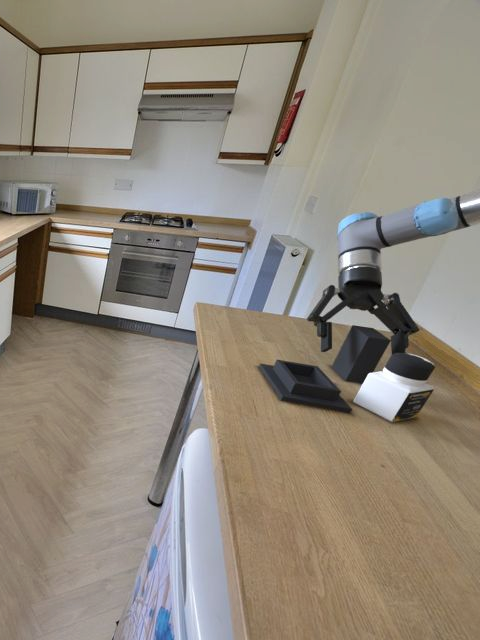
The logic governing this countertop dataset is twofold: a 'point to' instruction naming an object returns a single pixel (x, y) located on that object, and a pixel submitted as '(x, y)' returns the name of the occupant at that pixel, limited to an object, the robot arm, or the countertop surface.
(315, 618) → the countertop surface
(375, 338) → the upright block
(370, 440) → the countertop surface
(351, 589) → the countertop surface
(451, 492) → the countertop surface
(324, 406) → the base pad
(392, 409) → the medicine bottle
